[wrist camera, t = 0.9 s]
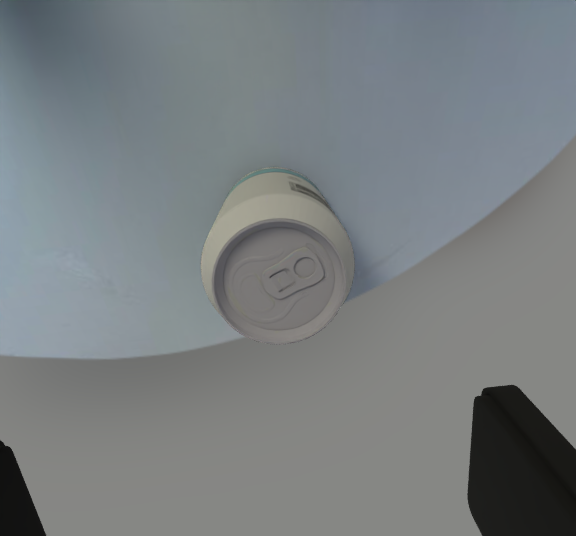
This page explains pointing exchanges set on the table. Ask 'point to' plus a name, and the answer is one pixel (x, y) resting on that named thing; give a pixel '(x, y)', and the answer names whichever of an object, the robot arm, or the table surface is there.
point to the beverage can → (277, 258)
